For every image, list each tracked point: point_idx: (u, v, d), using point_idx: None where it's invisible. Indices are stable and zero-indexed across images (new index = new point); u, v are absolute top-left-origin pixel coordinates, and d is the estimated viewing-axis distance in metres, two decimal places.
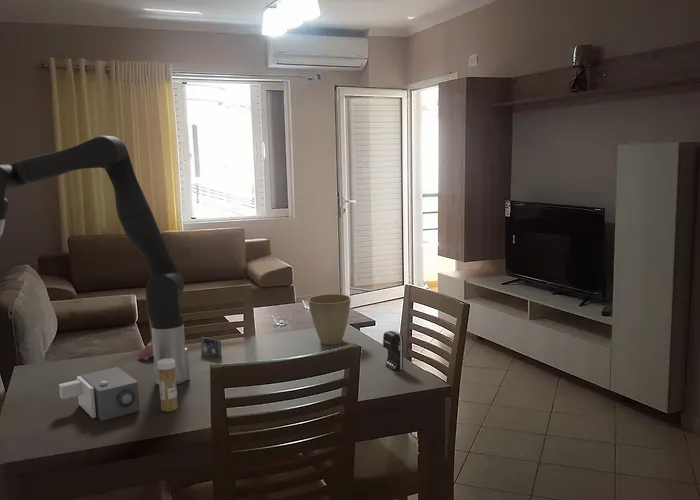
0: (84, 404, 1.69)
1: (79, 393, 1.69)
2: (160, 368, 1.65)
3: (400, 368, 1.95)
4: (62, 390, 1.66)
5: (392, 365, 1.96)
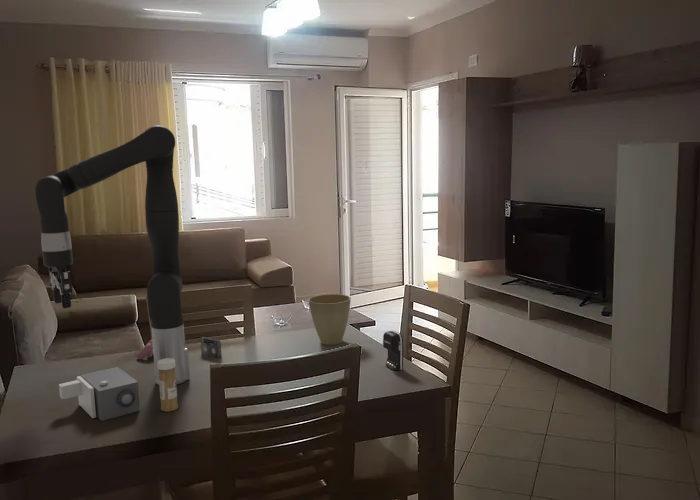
0: (84, 404, 1.69)
1: (79, 393, 1.69)
2: (160, 368, 1.65)
3: (400, 368, 1.95)
4: (62, 390, 1.66)
5: (392, 365, 1.96)
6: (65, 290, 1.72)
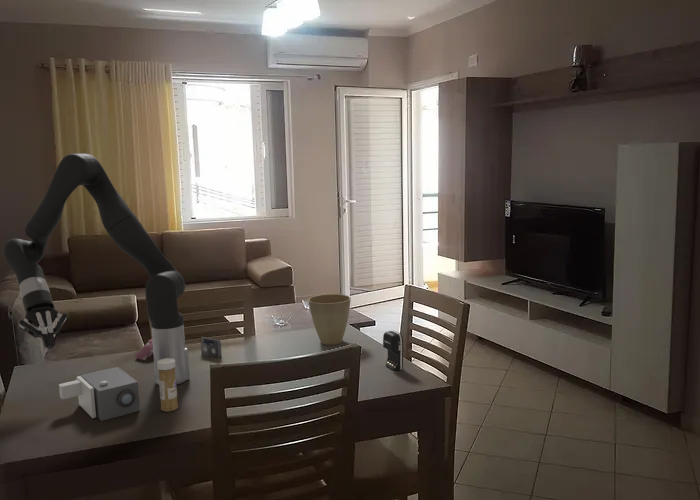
0: (84, 404, 1.69)
1: (79, 393, 1.69)
2: (160, 368, 1.65)
3: (400, 368, 1.95)
4: (62, 390, 1.66)
5: (392, 365, 1.96)
6: (33, 335, 1.76)
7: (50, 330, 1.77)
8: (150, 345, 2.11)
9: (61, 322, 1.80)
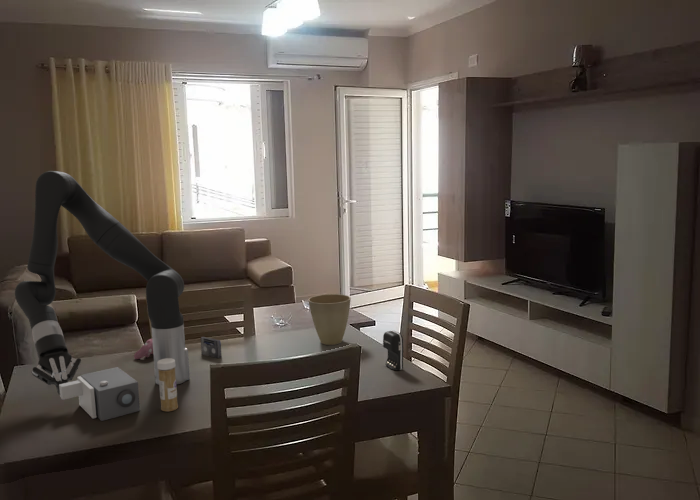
0: (84, 404, 1.68)
1: (79, 393, 1.68)
2: (160, 368, 1.65)
3: (400, 368, 1.95)
4: (62, 390, 1.66)
5: (392, 365, 1.96)
6: (47, 382, 1.70)
7: (64, 376, 1.71)
8: (148, 345, 2.11)
9: (75, 367, 1.74)
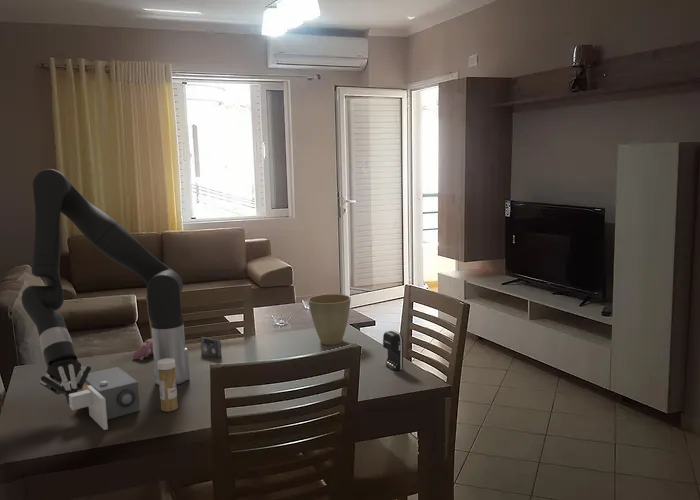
0: (95, 415, 1.61)
1: (90, 403, 1.61)
2: (160, 368, 1.65)
3: (400, 368, 1.95)
4: (72, 400, 1.59)
5: (392, 365, 1.96)
6: (56, 392, 1.63)
7: (74, 386, 1.64)
8: (147, 345, 2.11)
9: (85, 376, 1.67)
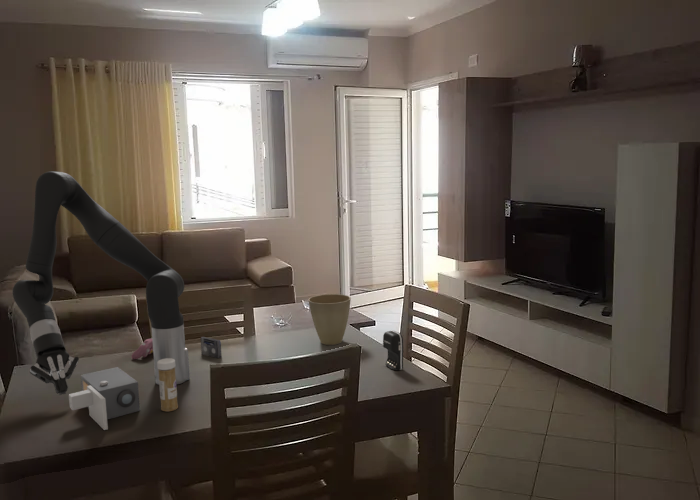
0: (95, 415, 1.61)
1: (90, 403, 1.61)
2: (160, 368, 1.65)
3: (400, 368, 1.95)
4: (72, 400, 1.59)
5: (392, 365, 1.96)
6: (45, 381, 1.71)
7: (62, 375, 1.72)
8: (146, 345, 2.11)
9: (73, 366, 1.75)
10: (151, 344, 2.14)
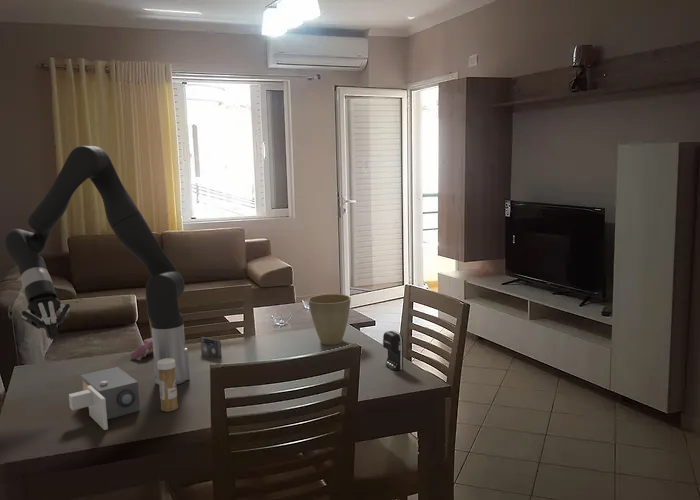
0: (95, 415, 1.61)
1: (90, 403, 1.61)
2: (160, 368, 1.65)
3: (400, 368, 1.95)
4: (72, 400, 1.59)
5: (392, 365, 1.96)
6: (36, 326, 1.72)
7: (53, 320, 1.73)
8: (145, 345, 2.11)
9: (64, 312, 1.76)
10: (150, 344, 2.14)
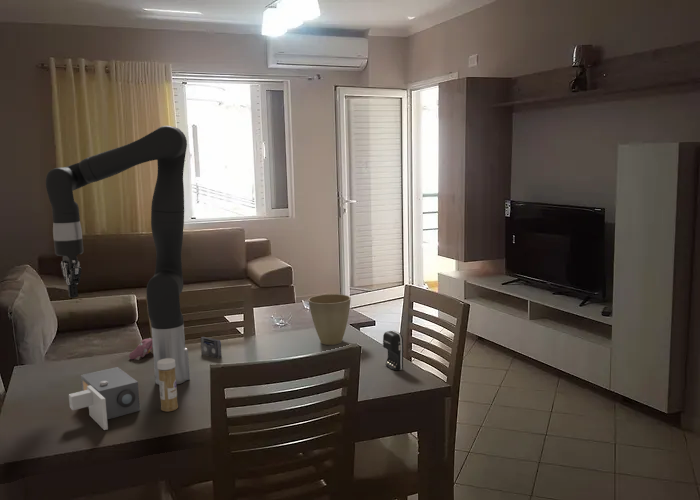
0: (95, 415, 1.61)
1: (90, 403, 1.61)
2: (160, 368, 1.65)
3: (400, 368, 1.95)
4: (72, 400, 1.59)
5: (392, 365, 1.96)
6: (73, 282, 1.80)
7: None
8: (144, 345, 2.11)
9: None
10: (149, 344, 2.14)
